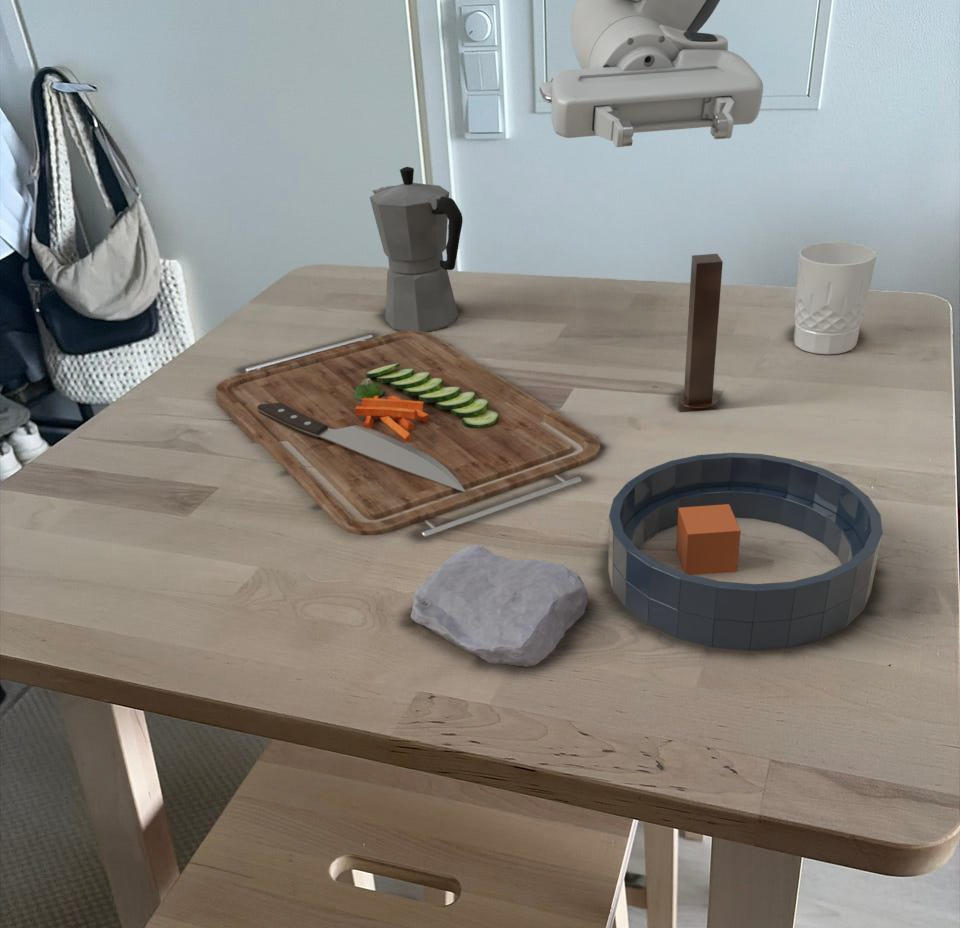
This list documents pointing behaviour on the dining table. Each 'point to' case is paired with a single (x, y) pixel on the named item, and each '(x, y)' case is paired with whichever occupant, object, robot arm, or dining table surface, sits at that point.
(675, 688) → the dining table surface
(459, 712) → the dining table surface
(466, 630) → the stone block
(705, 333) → the stick
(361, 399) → the chopping board
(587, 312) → the dining table surface
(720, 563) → the block
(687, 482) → the faceted bottomless ring
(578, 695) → the dining table surface
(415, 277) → the coffeepot
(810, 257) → the white cup
